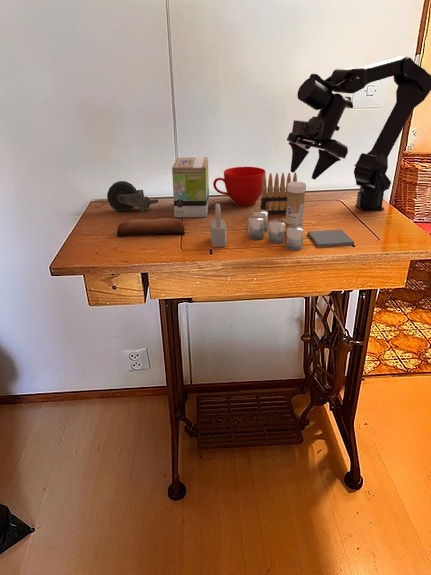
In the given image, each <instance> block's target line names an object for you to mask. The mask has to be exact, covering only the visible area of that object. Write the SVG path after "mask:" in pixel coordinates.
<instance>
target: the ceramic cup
mask: <svg viewBox="0 0 431 575" xmlns="http://www.w3.org/2000/svg"><path fill="white" fill-rule="evenodd" d="M264 173H265V175H266V170H265V169H264V168H260V167H255V166H235V167H230V168H227V169H225V170H224V171H223V177H216V178H215V179H214V180H213V182H212V183H213V184H212V186H213V188H214V190H215V191H216V192H217V193H218V194H222V195H224V196H225V195H226V196H228V198H230V199H231V201H232V202H233V203H234V205H236V206H243V207H244V206H252V205H254V204H255V203H256V202H257V201H258V200H259V199H260V198H261V187H262V178H263V174H264ZM266 176H267V175H266ZM218 181H222V182H223V183H224V187H225V190H226V192H225V191H222V190H220V189H218V187H217V182H218Z"/></svg>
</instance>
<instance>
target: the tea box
mask: <svg viewBox="0 0 431 575" xmlns="http://www.w3.org/2000/svg"><path fill="white" fill-rule="evenodd" d="M171 169H172V170H171V171H172V174H171V175H172V191H173V214H174V217H175V218H206V217H207V215H208V211H209V204H210V186H209V157H206V156H205V157H177V158H176V160H175V161H174V164H173V166H171Z"/></svg>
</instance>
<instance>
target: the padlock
mask: <svg viewBox="0 0 431 575" xmlns="http://www.w3.org/2000/svg"><path fill="white" fill-rule="evenodd" d="M214 209H215V212H214V213H215V219H212V220H211V221H210V224H209V225H210V226H209V227H210V228H209V229H210V231H209V233H210V243H211V245H212V247H213V248H226V244H227V223H226V221H225V220H224V218H221V216H222V215H221V214H222V213H221V204H220V203H219V202H218V203H215V208H214Z"/></svg>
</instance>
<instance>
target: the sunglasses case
mask: <svg viewBox="0 0 431 575" xmlns="http://www.w3.org/2000/svg"><path fill="white" fill-rule="evenodd" d="M116 230H117V231H116V232H117V233H116V234H117V237H123V236H133V235H140V234H141V235H142V234H144V235H147V234H152V235H153V234H183V235H186V234H185V224H184V223H183V222H182V221H181V220H180V219H176V218H171V217H162V218H157V219H155V218H150V219H144V218H134V219H130V220H126V221H123V222H121V223H119V224H118V225H117V229H116Z"/></svg>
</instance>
